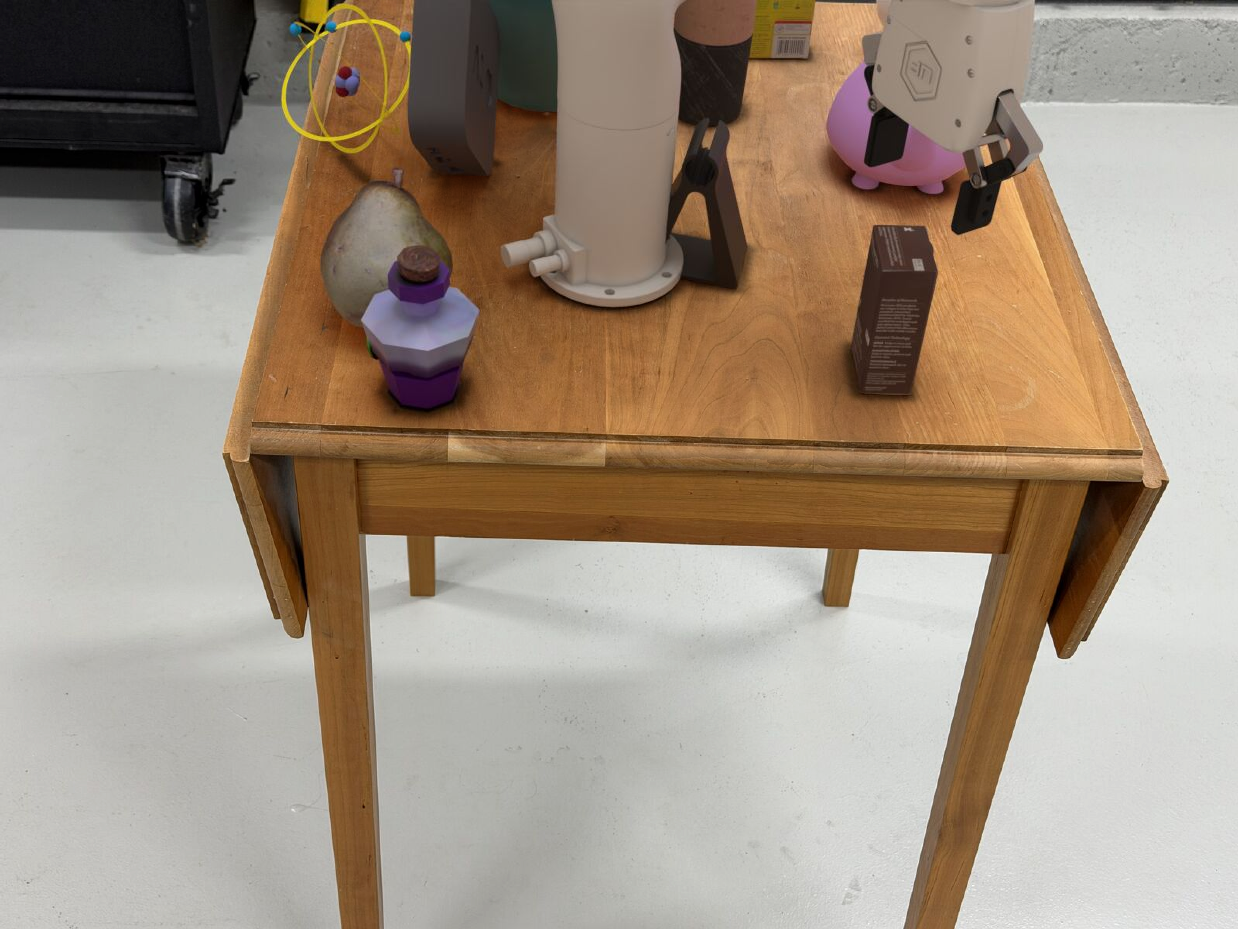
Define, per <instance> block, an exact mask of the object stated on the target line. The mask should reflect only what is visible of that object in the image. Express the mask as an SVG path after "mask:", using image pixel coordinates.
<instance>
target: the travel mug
mask: <svg viewBox="0 0 1238 929" xmlns="http://www.w3.org/2000/svg"><path fill="white" fill-rule="evenodd" d="M756 4H757V0H685V1H684V2H683V3H681V4H680V5H679V6H678V8H677V10H676V12H675V15H674V19H673V31H674V36H675V40H676V43H677V47H678V51H679V55H680V61H681V89H680V100H679V114H678V120H681V121H683V122H685V123H687V124H692V125H695V126H696V125H697V124H698V123H699V122H700V121H701V120H703V119H706V118H709V123H708V126H707V127H717V125H718V122H719V120H721V121H722V122H724V123H725V124H726V125H727V124H730V123H732V122H734V121H736V120H737V119H738V117H739V116H740V114H741V111H742V106H743V100H744V94H745V87H746V81H747V75H748V68H749V62H750V58H749V56H750V50H751V44H752V37H753V31H754V22H755V13H756Z"/></svg>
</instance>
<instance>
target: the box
mask: <svg viewBox="0 0 1238 929" xmlns="http://www.w3.org/2000/svg"><path fill="white" fill-rule="evenodd" d="M934 254H935V249H934V246H933V243H932V242H931V240H930V236H929V233H928V229H927V226H926V225H909V224H908V225H906V224H904V225H903V224H873V225H872V231H871V235H870V242H869V247H868V252H867V258H866V263H865V267H864V268H865V269H864V273H863V279H862V284H861V289H860V295H859V299H858V305H857V310H856V314H855V315H856V316H855V320H854V328H853V332H852V338H851V343H850V349H851V354H852V358H853V363H854V367H855V372H856V378H857V385H858V392H859V393H860V394H869V395H892V396H898V395H899V396H906V395H907V396H909V395H911V394H912V393H913V392H912V391H913V387H914V384H915V383H914V382H915V379H916V374H917V370H918V365H919V361H920V357H921V351H922V348H923V343H924V339H925V334H926V331H927V326H928V321H929V315H930V311H931V307H932V303H933V298H934V293H935V289H936V284H937V280H938V275H939V269H938V266H937V262H936V258H935V256H934Z"/></svg>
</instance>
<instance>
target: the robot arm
mask: <svg viewBox="0 0 1238 929" xmlns="http://www.w3.org/2000/svg"><path fill="white" fill-rule="evenodd" d="M684 1H685V0H552V5H553V11H554V17H555V24H556V33H557V50H558V85H557V99H558V106H557V112H556V148H555V150H556V152H555V157H556V158H555V186H554V188H555V191H554V193H555V196H554V213H553V214H549V215H546V216H543V218H542V230H539V231H536V232H534V234H533V236H532V237H530V238H528V239H524V240H523V239H520V240H517V241H516V240H515V241H513V242H509V243H505V244H503V245H501V246H500V257H501V260H502V262H503V265H504V266H505V267H506V268H508V269H510V268H513V267H517V266H521V265H524V264H527V263H528V269H529V272H530V274H531V275H532V277H533V278H537V277H540V278H541V280H542V281H543V282H544V283H545V284H546V285H547V286H548V287H549V288H551V289H552V290H554V291H555V292H556V293H558V294H560V295H562V296H564V297H565V298H567V299H569V300H572V301H575V302H578V303H582V304H586V305H590V306H596V307H603V308H604V307H605V308H606V307H607V308H608V307H609V308H625V307H631V306H637V305H638V306H639V305H643V304H645V303H648V302H652V301H655V300H656V299H658V298H660V297H663V296H664V295H666V294H667V293H668V292H670V291H671V290H672V289H673V288H674V287H675V286H676V285H677V284H678V283H679V281H680V279H681V278H680V277H681V273H682V269H683V262H684V259H683V252H682V249H681V247H680V245H679V243H678V242H677V241H676V239H675V238H674V237H673V236H672V235H671V234H670V236H669V238H668V240H667V242H666V244H665V241H666V230H667V219H668V208H669V203H670V200H671V192H672V184H673V182H674V180H673V179H674V169H675V159H676V158H675V157H676V147H677V146H676V145H677V136H678V126H679V118H678V114H679V100H680V89H681V61H680V55H679V51H678V47H677V43H676V40H675V36H674V31H673V29H674V17H675V12H676V10H677V8H678V6H679V5H680V4H681V3H683V2H684ZM1035 4H1036V0H892V1H891V4H890V7H889V10H888V13H887V17H886V20H885V24H884V26H883V27H882V28H883V29H882V31H877V32H873V33H870V34H865V35H864V36H863V37H862V39H861V45H862V46H861V47H862V53H863V58H864V59H863V61H865V64H867V67H866V68H865V70H864V77H865V80H866V83H867V86H868V89H869V92H870V95H871V96H870V97H869V99H868V101H867V106H868V109H869V111H870V112H871V113H874V116H872V118H871V124H870V129H869V135H868V140H867V146H866V152H865V157H864V164H866V165H867V166H868V167H870V168H871V167H876V166H879V165H883V164H886V163H889V162H893V161H896V160H899V159H901V158H902V157H903V153H904V148H905V143H906V138H907V133H908V129H909V125H911V126H912V127H914V128H915V129H916V130H918V131H919V132H921V133H922V134H923V135H925V136H926V137H928V138H929V139H930V140H932V141H933V142H935V143H936V144H938V145H939V146H941V147H942V148H944V149H945V150H947V151H949V152H952V153H962V154H963V157H964V161H965V165H966V166H965V169H966V171H967V172H966V173H967V175H968V179H966V180H964V181H962V182H961V183H960V185H959V190H958V194H957V199H956V202H955V206H954V210H953V215H952V219H951V223H950V231H951V232H952V233H953V234H955V235H956V236H960V235H963V234H964V235H965V234H967V233H969V232H973V231H975V230H979V229H983V228H986V227H987V226H989V225H990V224H991V222H992V221H993V217H994V212H995V209H996V205H997V201H998V198H999V194H1000V191H1001V190H1000V189H1001V185H1002V182H1004V181H1007V180H1010V179H1012V178H1013V177H1015V176H1018V175H1020V174H1022V173H1024V172H1026V171H1027V169H1028V166H1030V165H1031V164H1032V163H1033V162H1034V161H1035V159H1036V158H1037V157H1039V155H1040V154H1041V153H1042V152H1043V150H1044V144H1043V140H1042V139H1041V137H1040V135H1039V134H1038V132H1037V131H1036V130H1035V127H1034V126H1033V125H1032V123H1031V121H1030V120H1029V118H1028V116H1027V115H1026V112H1025V111H1024V110H1023V108H1022V106H1021V104H1022V100H1023V96H1024V95H1023V94H1024V91H1025V86H1026V80H1027V75H1028V70H1029V64H1030V59H1031V58H1030V57H1031V51H1032V44H1033V43H1032V42H1033V36H1034V35H1033V34H1034V23H1035ZM1006 140H1007V141H1008V143H1009V149H1008V146H1007V141H1006ZM985 146H987V149H988V153H989V156H990V160H991V163H989V164H988V165H985V162H984V158H983V153H982V150H981V147H985Z"/></svg>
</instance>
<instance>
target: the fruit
mask: <svg viewBox="0 0 1238 929" xmlns="http://www.w3.org/2000/svg"><path fill="white" fill-rule="evenodd" d="M392 175H393V182H392V181H389V180H388V181H387V180H381V179H380V180H373V181H370V182H368V183H366V184H365V185H363V186H362V187H361V188H360V189H359V190H358V192H357V193H356V195H355V196H354V198H353V200H352V201H351V203H350V205H349V206H347V208H345V209H344V211H343V212H341V214H339V215H338V217H337V218H336V219H335V220H334V222H333V223H332V225H331V228H329V231H328V233H327V236H326V239H325V242H324V244H323V246H322V249H321V253H320V254H321V255H320V259H319V260H320V261H319V262H320V265H319V267H320V274H321V278H322V282H323V284H324V288H325V291H326V293H327V295H328V298H329V300H330V302H331V303H332V305H333V307H334V309H335V310H336V311H337V312H338V314H340V316H341V317H342V318H343V319H345V321H347V322H348V323H350V324H352V325H353V326H356V327H359V328H362V329H364V327H363V324H362V322H361V319H362V317H363V315H364V313H365V312H366V310H367V308H368V306H369V304H370V302H371V300H372V298H373V297H374V295H375V294H377V293H380V292H383V291H386V290H389V288H388V273H389V271H390V269H391V267H392V265H393V263H394V262H395V261H397V256H398V255H399V254H400V253H401V251H402V250H403V249H404V248H407V247H410V246H416V245H421V246H427V247H429V248H431V249H433V250H435V251H436V252H437V253H438V254H439V256H440V261H441V262H442V263H443V264H444V265H445V266H447V267H448V268H449V269H450V278H451V277H452V274H453V270H454V261H453V255H452V251H451V249H450V247H449V244H448V243H447V241H446V239H445V237H444V236H443V235H442V234H441V232H440V231H439V230H437V228H436V227H435V226H434V225H432V223H431V222H430V221H428V220H427V219H426V218H425V216H424V214H423V211H422V208H421V206H420V204H419V203H418V200H416V197H415V196H414V195H413V194H412V193H411V192H410V191H409V190H407V189H406V188H403V184H404V181H403V178H404V175H405V170H404V169H403V168H397V167H393V169H392Z"/></svg>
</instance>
